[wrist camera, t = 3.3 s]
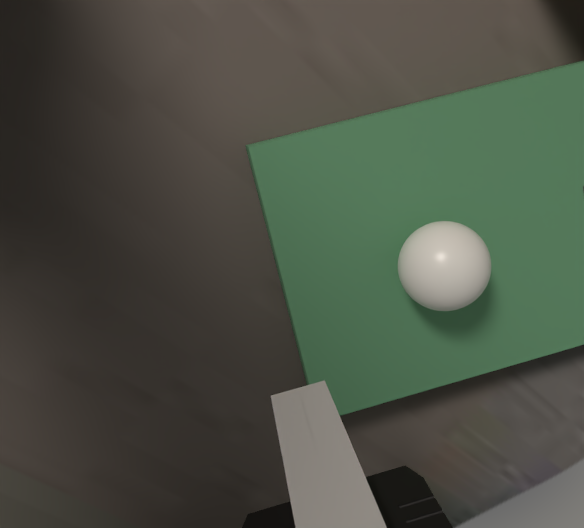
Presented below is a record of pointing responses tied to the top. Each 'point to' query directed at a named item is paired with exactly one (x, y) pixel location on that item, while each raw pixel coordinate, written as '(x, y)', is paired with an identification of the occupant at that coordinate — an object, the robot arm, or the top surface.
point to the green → (423, 210)
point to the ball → (444, 266)
